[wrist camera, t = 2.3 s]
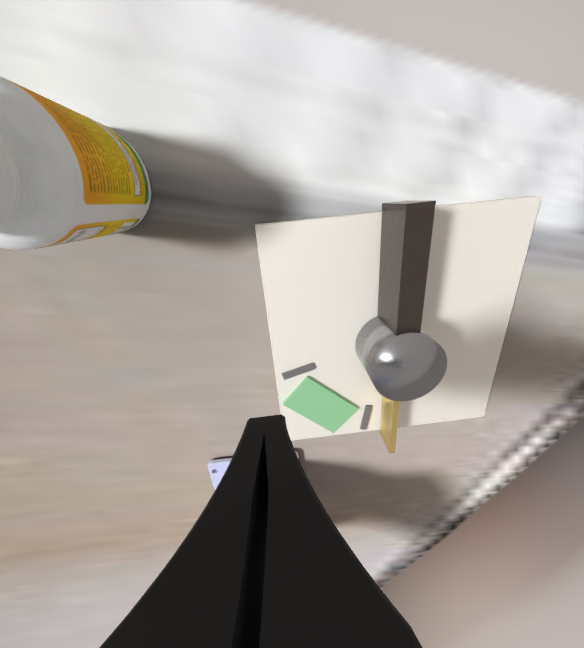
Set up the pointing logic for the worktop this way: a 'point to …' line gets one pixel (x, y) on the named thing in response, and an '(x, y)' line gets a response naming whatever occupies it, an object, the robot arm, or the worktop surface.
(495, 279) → the board
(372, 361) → the dial pointer
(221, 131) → the worktop surface
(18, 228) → the supplement bottle
